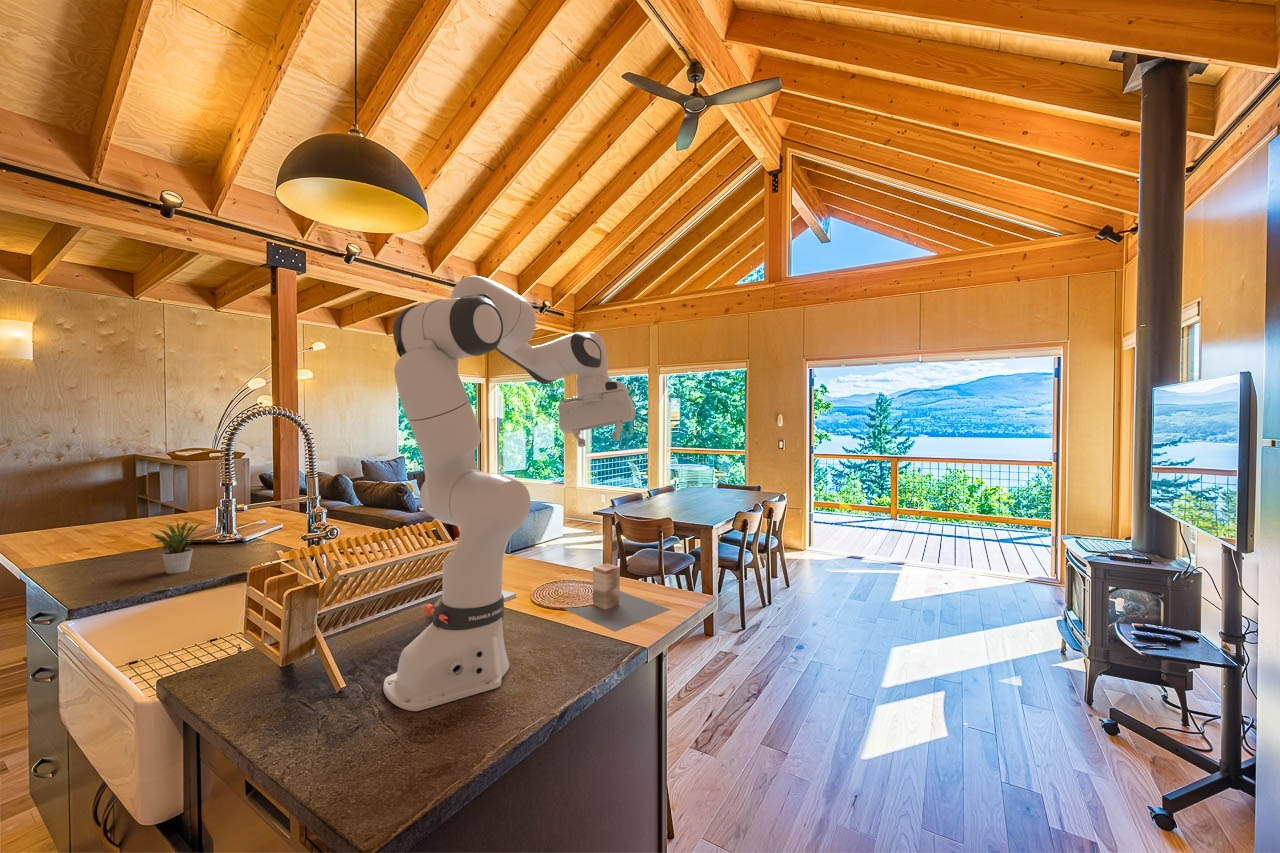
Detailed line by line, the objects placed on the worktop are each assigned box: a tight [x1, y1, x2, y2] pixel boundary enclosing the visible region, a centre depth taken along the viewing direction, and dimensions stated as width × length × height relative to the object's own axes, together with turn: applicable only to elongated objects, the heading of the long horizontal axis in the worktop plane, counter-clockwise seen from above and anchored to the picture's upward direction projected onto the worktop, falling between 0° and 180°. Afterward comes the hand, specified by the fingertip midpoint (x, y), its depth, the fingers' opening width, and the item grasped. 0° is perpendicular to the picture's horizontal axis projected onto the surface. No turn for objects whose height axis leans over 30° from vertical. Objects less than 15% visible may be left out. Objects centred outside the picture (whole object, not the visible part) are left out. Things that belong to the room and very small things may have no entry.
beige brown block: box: [592, 562, 621, 609], centre depth 135 cm, size 5×5×10 cm
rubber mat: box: [564, 590, 671, 632], centre depth 132 cm, size 20×19×1 cm
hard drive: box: [502, 589, 517, 603], centre depth 138 cm, size 2×8×12 cm
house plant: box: [149, 519, 213, 575], centre depth 160 cm, size 14×14×16 cm
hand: (598, 443), depth 131 cm, fingers open, 8 cm apart
